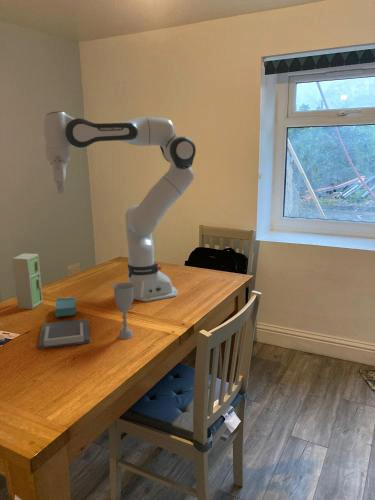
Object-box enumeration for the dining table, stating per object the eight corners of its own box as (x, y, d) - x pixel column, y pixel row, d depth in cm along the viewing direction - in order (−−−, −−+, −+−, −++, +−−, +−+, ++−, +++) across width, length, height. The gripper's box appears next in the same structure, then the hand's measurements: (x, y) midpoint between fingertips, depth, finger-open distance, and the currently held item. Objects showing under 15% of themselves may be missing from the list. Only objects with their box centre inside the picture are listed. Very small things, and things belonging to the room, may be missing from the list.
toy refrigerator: (33, 309, 156) (28, 259, 150) (17, 308, 157) (11, 258, 152) (44, 302, 163) (40, 253, 158) (29, 301, 165) (23, 253, 159)
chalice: (118, 342, 129) (115, 290, 124) (112, 333, 135) (109, 284, 130) (139, 337, 132) (137, 287, 128) (132, 329, 138) (130, 281, 134)
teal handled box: (75, 307, 157) (75, 296, 156) (75, 317, 148) (74, 305, 147) (57, 309, 155) (56, 298, 154) (56, 319, 146) (54, 307, 145)
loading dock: (88, 321, 147) (87, 310, 146) (90, 347, 128) (89, 335, 127) (43, 326, 143) (42, 315, 142) (38, 353, 124) (37, 341, 123)
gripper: (66, 156, 141) (69, 194, 144) (67, 155, 160) (69, 189, 163) (47, 156, 139) (51, 195, 142) (51, 156, 158) (54, 190, 161)
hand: (61, 192), depth 153 cm, fingers open, 8 cm apart
